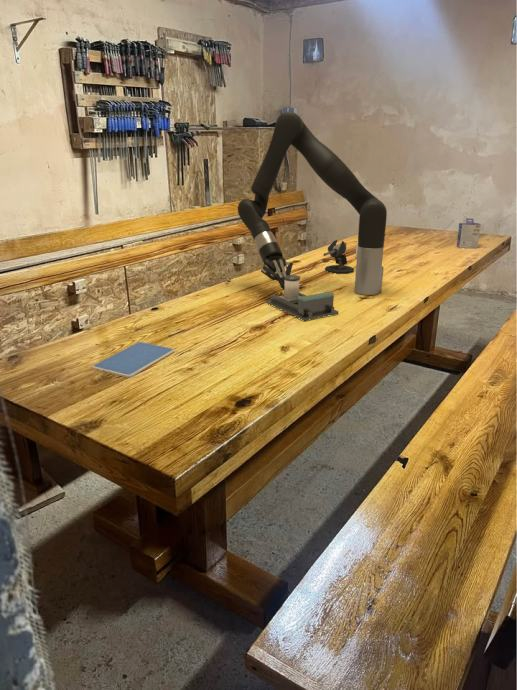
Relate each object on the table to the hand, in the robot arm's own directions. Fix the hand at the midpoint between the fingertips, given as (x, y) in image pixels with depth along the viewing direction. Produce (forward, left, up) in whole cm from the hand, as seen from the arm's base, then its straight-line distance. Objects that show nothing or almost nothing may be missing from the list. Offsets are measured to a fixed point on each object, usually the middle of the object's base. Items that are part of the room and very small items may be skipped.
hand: (286, 288), depth 188 cm
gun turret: (-43, -25, -5) cm, 50 cm away
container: (-73, -40, -5) cm, 83 cm away
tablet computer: (+63, +22, -6) cm, 67 cm away
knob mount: (0, +9, -5) cm, 10 cm away
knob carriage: (0, +3, -4) cm, 5 cm away
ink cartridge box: (-136, -32, -5) cm, 140 cm away
